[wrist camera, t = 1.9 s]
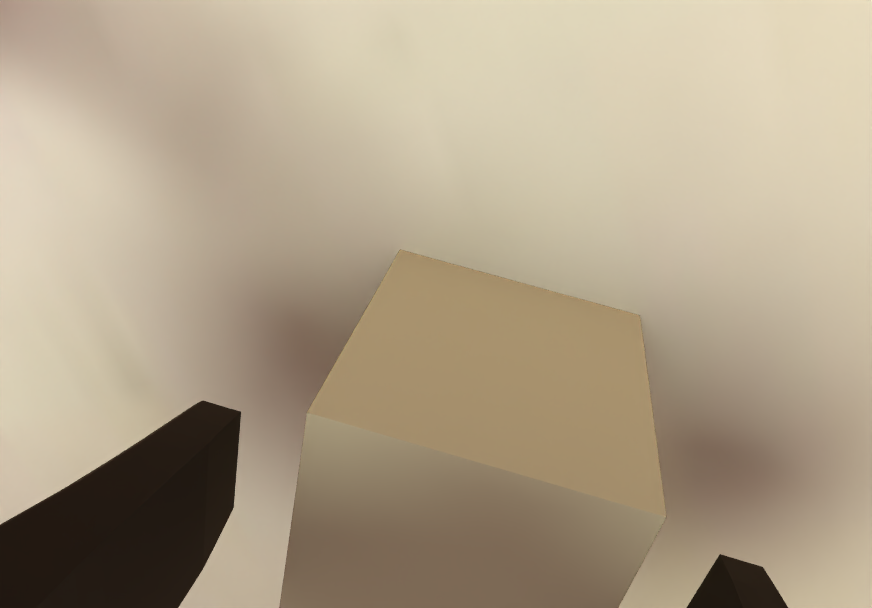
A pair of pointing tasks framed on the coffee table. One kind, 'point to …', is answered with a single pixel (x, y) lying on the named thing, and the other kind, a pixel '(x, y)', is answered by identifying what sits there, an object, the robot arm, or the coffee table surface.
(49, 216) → the coffee table surface
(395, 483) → the beige block
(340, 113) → the coffee table surface
